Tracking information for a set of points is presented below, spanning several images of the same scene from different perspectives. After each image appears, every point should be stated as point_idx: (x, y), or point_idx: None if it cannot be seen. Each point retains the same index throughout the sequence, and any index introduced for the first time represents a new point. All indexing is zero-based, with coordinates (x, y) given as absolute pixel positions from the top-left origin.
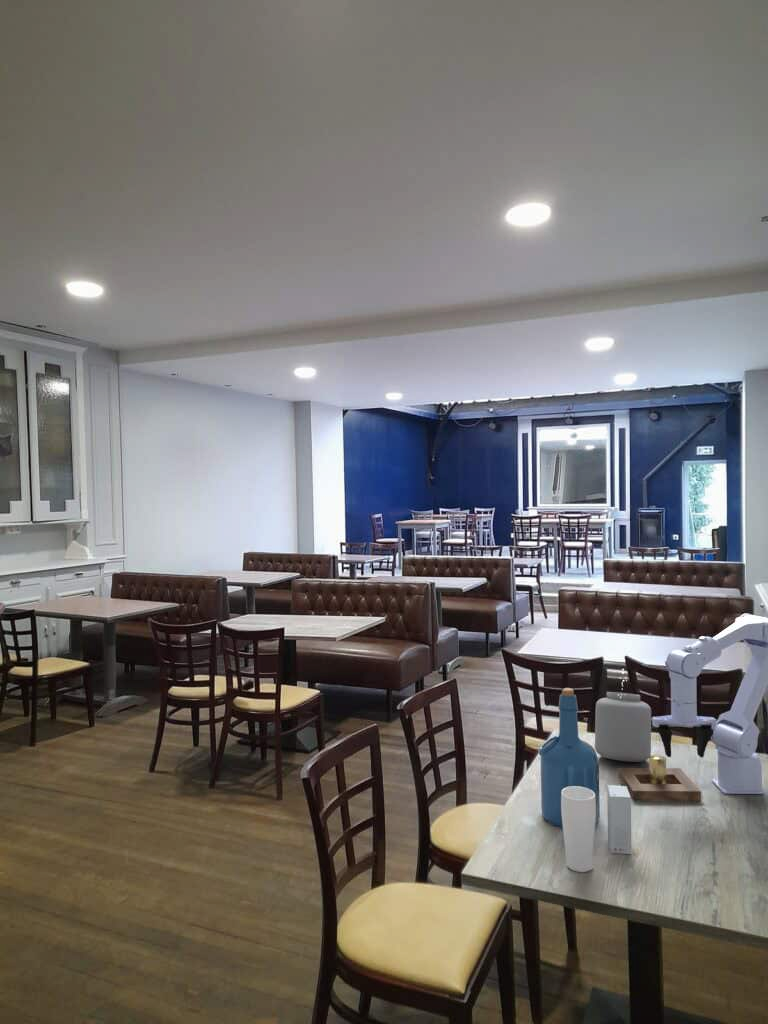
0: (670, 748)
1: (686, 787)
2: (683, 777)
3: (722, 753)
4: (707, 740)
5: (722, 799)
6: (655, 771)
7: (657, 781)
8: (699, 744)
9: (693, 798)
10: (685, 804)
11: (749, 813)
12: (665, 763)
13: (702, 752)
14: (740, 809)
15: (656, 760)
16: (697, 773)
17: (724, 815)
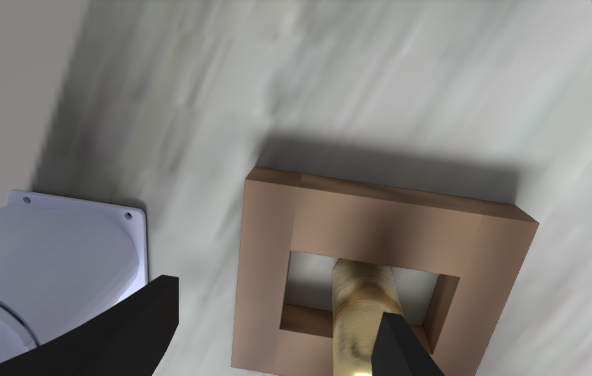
0: (410, 357)
1: (287, 220)
2: (255, 301)
3: (27, 342)
4: (30, 356)
5: (168, 173)
6: (397, 313)
7: (383, 280)
8: (131, 367)
9: (280, 174)
10: (325, 152)
11: (113, 45)
12: (349, 338)
13: (150, 291)
14: (135, 84)
15: None
16: (171, 355)
17: (218, 38)
